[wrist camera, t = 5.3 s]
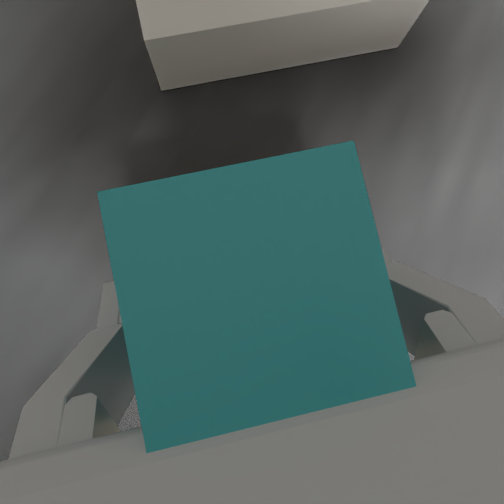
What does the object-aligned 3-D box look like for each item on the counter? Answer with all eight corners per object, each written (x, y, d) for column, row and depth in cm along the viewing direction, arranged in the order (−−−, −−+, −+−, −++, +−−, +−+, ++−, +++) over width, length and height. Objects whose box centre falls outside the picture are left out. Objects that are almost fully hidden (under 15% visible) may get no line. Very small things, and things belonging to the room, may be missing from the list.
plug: (202, 355, 16) (143, 475, 6) (181, 256, 17) (88, 186, 6) (300, 332, 17) (427, 403, 6) (277, 235, 17) (358, 133, 6)
